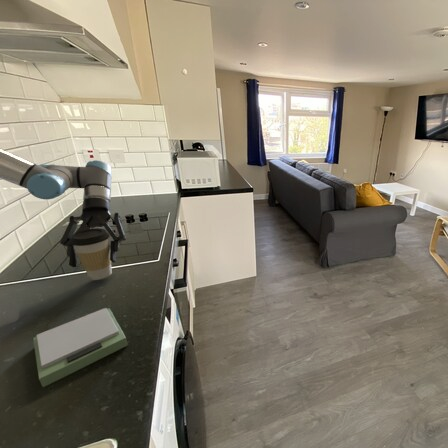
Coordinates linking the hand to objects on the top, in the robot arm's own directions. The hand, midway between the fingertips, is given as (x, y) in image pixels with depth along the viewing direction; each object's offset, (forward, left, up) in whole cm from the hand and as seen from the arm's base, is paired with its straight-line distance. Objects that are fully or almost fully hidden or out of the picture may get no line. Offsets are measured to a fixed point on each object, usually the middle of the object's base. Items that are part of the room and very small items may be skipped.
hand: (93, 263), depth 82 cm
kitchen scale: (+18, -22, -8) cm, 29 cm away
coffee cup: (-2, +3, -6) cm, 7 cm away
